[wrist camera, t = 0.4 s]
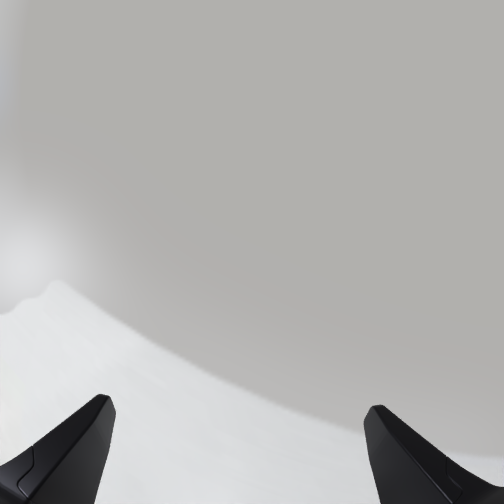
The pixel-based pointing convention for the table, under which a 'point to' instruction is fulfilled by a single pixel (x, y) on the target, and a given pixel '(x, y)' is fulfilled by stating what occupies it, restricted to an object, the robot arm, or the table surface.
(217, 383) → the table surface
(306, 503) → the table surface
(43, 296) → the table surface
